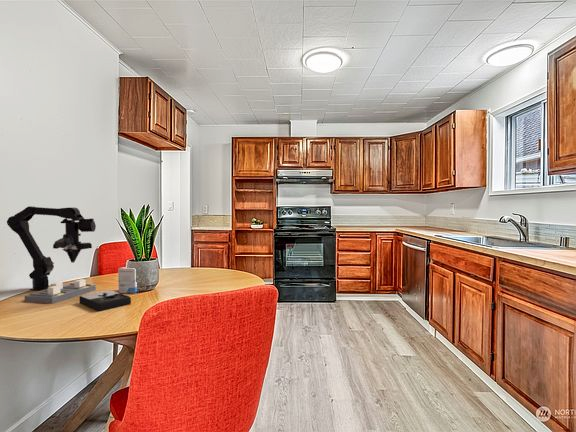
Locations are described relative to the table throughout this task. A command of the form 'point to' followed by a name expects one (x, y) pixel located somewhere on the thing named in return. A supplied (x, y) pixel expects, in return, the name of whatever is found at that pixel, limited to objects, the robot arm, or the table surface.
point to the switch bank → (59, 294)
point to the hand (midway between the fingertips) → (72, 262)
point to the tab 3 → (79, 283)
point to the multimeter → (105, 300)
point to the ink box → (127, 280)
